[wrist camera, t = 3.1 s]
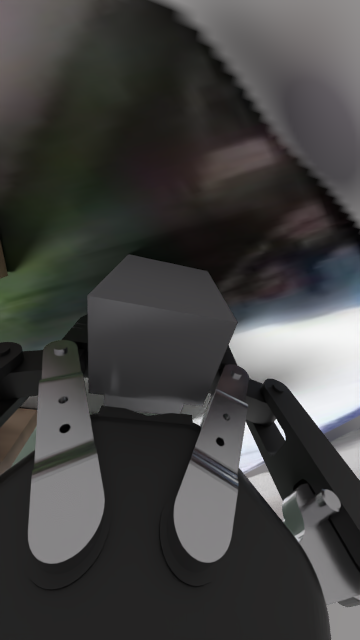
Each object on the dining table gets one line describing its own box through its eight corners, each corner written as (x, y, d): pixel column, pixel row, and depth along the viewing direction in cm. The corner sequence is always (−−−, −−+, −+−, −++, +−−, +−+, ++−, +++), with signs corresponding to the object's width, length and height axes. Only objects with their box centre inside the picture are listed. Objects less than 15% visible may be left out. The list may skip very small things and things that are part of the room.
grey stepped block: (207, 271, 12) (237, 322, 7) (178, 373, 17) (181, 456, 11) (128, 254, 12) (87, 295, 6) (118, 365, 16) (89, 450, 10)
